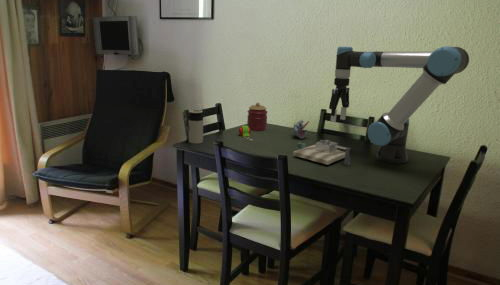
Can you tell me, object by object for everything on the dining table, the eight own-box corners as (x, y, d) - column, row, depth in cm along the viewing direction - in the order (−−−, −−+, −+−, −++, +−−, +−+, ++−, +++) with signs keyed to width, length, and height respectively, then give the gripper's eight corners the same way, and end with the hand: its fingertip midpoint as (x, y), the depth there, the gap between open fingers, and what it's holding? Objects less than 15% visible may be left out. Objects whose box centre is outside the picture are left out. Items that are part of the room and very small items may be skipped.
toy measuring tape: (246, 133, 245) (247, 123, 243) (256, 141, 227) (256, 130, 225) (236, 134, 243) (237, 123, 241) (245, 142, 225) (246, 131, 223)
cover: (336, 150, 203) (337, 140, 202) (328, 153, 197) (329, 143, 196) (323, 147, 208) (324, 137, 207) (315, 150, 202) (316, 140, 201)
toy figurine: (307, 141, 232) (308, 121, 229) (288, 139, 234) (290, 119, 231) (308, 136, 243) (310, 117, 239) (290, 135, 245) (292, 116, 241)
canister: (257, 126, 266) (258, 100, 261) (270, 130, 256) (272, 103, 251) (242, 128, 257) (243, 101, 253) (255, 132, 248) (256, 105, 243)
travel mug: (204, 141, 224) (204, 110, 219) (201, 144, 216) (201, 112, 211) (190, 140, 224) (190, 109, 220) (187, 143, 217) (186, 111, 212)
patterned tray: (347, 156, 200) (348, 148, 199) (327, 164, 186) (328, 156, 185) (308, 146, 216) (309, 139, 215) (286, 153, 201) (287, 146, 200)
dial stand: (349, 165, 190) (351, 148, 188) (347, 166, 189) (349, 149, 187) (335, 161, 195) (336, 145, 193) (333, 162, 194) (334, 145, 192)
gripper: (346, 75, 210) (342, 116, 216) (324, 78, 194) (320, 122, 200) (358, 77, 205) (354, 119, 211) (337, 79, 190) (333, 124, 195)
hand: (338, 120), depth 206 cm, fingers open, 9 cm apart
